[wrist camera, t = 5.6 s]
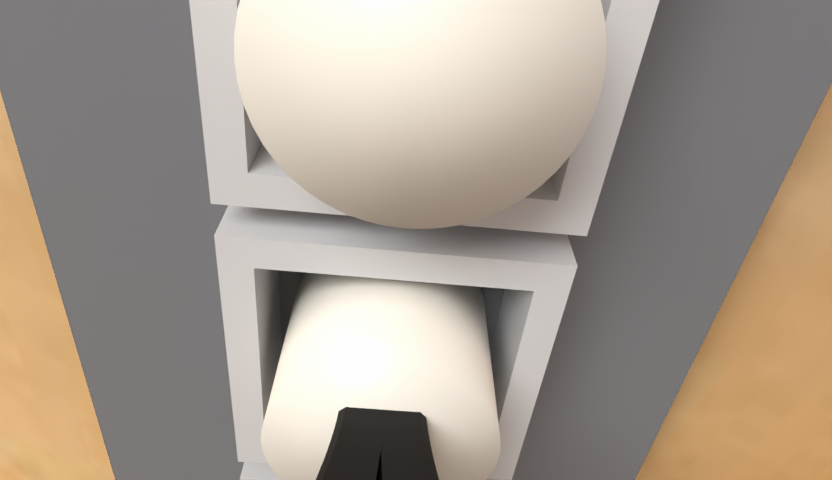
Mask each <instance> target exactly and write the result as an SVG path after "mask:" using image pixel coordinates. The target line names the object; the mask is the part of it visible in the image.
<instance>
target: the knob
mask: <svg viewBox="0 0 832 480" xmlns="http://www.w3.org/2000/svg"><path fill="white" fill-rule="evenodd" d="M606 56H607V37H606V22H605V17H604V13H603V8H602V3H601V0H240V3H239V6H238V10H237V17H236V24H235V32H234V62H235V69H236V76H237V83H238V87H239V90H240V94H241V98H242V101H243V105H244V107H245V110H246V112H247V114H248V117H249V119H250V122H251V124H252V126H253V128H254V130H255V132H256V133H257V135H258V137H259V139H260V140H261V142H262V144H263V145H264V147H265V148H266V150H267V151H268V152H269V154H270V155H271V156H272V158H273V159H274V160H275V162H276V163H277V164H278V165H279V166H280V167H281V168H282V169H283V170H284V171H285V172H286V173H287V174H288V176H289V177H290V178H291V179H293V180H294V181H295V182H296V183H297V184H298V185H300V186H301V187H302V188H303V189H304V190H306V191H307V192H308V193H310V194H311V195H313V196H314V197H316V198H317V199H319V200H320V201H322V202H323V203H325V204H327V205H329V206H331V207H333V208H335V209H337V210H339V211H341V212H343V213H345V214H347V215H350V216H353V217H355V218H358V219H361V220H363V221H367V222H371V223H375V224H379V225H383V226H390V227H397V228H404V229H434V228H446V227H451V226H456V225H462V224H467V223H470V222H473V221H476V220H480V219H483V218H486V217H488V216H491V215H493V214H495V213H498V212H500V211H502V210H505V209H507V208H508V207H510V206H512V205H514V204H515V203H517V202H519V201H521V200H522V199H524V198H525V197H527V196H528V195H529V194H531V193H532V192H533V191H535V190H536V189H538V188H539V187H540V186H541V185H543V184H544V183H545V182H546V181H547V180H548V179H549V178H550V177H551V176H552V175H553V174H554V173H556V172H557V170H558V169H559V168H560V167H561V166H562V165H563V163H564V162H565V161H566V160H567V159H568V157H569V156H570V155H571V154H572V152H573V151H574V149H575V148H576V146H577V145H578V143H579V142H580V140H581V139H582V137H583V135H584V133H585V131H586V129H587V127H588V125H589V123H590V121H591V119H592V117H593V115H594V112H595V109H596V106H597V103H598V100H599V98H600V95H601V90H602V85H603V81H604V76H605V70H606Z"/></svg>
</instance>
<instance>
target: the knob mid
mask: <svg viewBox="0 0 832 480" xmlns="http://www.w3.org/2000/svg"><path fill="white" fill-rule="evenodd" d="M345 407H353V408H367V409H381V410H395V411H410V412H421V413H422V414H423V415H424V416H425V417H426V418H427V427H428V433H429V438H430V444H431V449H432V453H433V458H434V462H435V466H436V470H437V474H438V477H439V480H487V479H488V477H489V476H490V475H491V473H492V472H493V470H494V468H495V467H496V464H497V461H498V459H499V455H500V449H501V443H500V431H499V423H498V414H497V406H496V398H495V389H494V381H493V372H492V364H491V356H490V347H489V339H488V330H487V322H486V314H485V305H484V298H483V293H482V289H481V287H477V286H464V285H452V284H440V283H428V282H416V281H403V280H391V279H379V278H367V277H354V276H342V275H330V274H318V273H306V272H304V274H303V275H302V277H301V280H300V282H299V284H298V288H297V292H296V296H295V300H294V304H293V308H292V312H291V316H290V320H289V324H288V328H287V332H286V335H285V339H284V343H283V347H282V351H281V355H280V359H279V363H278V367H277V371H276V375H275V379H274V383H273V387H272V391H271V394H270V398H269V402H268V406H267V410H266V414H265V418H264V422H263V426H262V430H261V445H262V451H263V453H264V456H265V459H266V461H267V463H268V464H269V466H270V468H271V469H272V471H273V472H274V473H275V474H276V475H277V477H278V478H279V479H280V480H316V478H317V475H318V473H319V470H320V468H321V465H322V463H323V460H324V458H325V455H326V452H327V450H328V447H329V444H330V441H331V438H332V434H333V431H334V428H335V424H336V421H337V416H338V412H339V411H340V410H341V409H343V408H345Z"/></svg>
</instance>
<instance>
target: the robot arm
mask: <svg viewBox="0 0 832 480" xmlns="http://www.w3.org/2000/svg"><path fill="white" fill-rule="evenodd" d="M316 480H439V477H438V474H437V470H436V466H435V462H434V458H433V453H432V449H431V444H430V438H429V433H428V427H427V418H426V417H425V416H424V415H423V414H422V413H421V412H410V411H395V410H381V409H367V408H353V407H345V408H343V409H341V410H340V411H339V412H338V416H337V421H336V424H335V428H334V431H333V434H332V438H331V441H330V444H329V447H328V450H327V452H326V455H325V458H324V460H323V463H322V465H321V468H320V470H319V473H318V475H317V478H316Z"/></svg>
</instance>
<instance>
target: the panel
mask: <svg viewBox="0 0 832 480" xmlns="http://www.w3.org/2000/svg"><path fill="white" fill-rule="evenodd" d="M239 3H240V0H0V91H1V94H2V98H3V101H4V104H5V108H6V111H7V115H8V118H9V121H10V125H11V128H12V131H13V135H14V138H15V142H16V145H17V148H18V152H19V155H20V159H21V162H22V165H23V169H24V172H25V175H26V179H27V182H28V186H29V189H30V192H31V196H32V199H33V202H34V206H35V209H36V213H37V216H38V219H39V223H40V226H41V230H42V233H43V236H44V240H45V243H46V246H47V250H48V253H49V257H50V260H51V263H52V267H53V270H54V273H55V277H56V280H57V284H58V287H59V290H60V294H61V297H62V301H63V304H64V307H65V311H66V314H67V317H68V321H69V324H70V328H71V331H72V334H73V338H74V341H75V345H76V348H77V351H78V355H79V358H80V361H81V365H82V368H83V372H84V375H85V378H86V382H87V385H88V388H89V392H90V395H91V399H92V402H93V405H94V409H95V412H96V416H97V419H98V422H99V426H100V429H101V432H102V436H103V439H104V443H105V446H106V449H107V453H108V456H109V460H110V463H111V466H112V470H113V473H114V476H115V480H280V479H279V478H278V477H277V475H276V474H275V473H274V472H273V471H272V469H271V468H270V466H269V464H268V463H267V461H266V459H265V456H264V453H263V451H262V445H261V430H262V426H263V422H264V418H265V414H266V410H267V406H268V402H269V398H270V394H271V391H272V387H273V383H274V379H275V375H276V371H277V367H278V363H279V359H280V355H281V351H282V347H283V343H284V339H285V335H286V332H287V328H288V324H289V320H290V316H291V312H292V308H293V304H294V300H295V296H296V292H297V288H298V284H299V282H300V280H301V277H302V275H303V274H304V272H306V273H318V274H330V275H342V276H354V277H367V278H379V279H391V280H403V281H416V282H428V283H440V284H452V285H464V286H477V287H481V289H482V293H483V298H484V305H485V314H486V322H487V330H488V339H489V347H490V356H491V364H492V372H493V381H494V389H495V398H496V406H497V414H498V423H499V431H500V443H501V449H500V455H499V459H498V461H497V464H496V467H495V468H494V470H493V472H492V473H491V475H490V476H489V477H488V479H487V480H635V478H636V476H637V474H638V472H639V470H640V468H641V466H642V464H643V462H644V460H645V458H646V456H647V454H648V452H649V450H650V448H651V446H652V444H653V442H654V440H655V438H656V436H657V434H658V432H659V430H660V428H661V426H662V424H663V422H664V420H665V418H666V416H667V414H668V412H669V410H670V408H671V406H672V403H673V401H674V399H675V397H676V395H677V393H678V391H679V389H680V387H681V385H682V383H683V381H684V379H685V377H686V375H687V373H688V371H689V369H690V367H691V365H692V363H693V361H694V359H695V357H696V355H697V353H698V351H699V349H700V347H701V345H702V343H703V341H704V339H705V337H706V335H707V333H708V331H709V329H710V327H711V325H712V323H713V321H714V319H715V317H716V315H717V313H718V311H719V309H720V307H721V305H722V303H723V301H724V299H725V297H726V295H727V293H728V291H729V289H730V287H731V285H732V283H733V281H734V279H735V277H736V274H737V272H738V270H739V268H740V266H741V264H742V262H743V260H744V258H745V256H746V254H747V252H748V250H749V248H750V246H751V244H752V242H753V240H754V238H755V236H756V234H757V232H758V230H759V228H760V226H761V224H762V222H763V220H764V218H765V216H766V214H767V212H768V210H769V208H770V206H771V204H772V202H773V200H774V198H775V196H776V194H777V192H778V190H779V188H780V186H781V184H782V182H783V180H784V178H785V176H786V174H787V172H788V170H789V168H790V166H791V164H792V162H793V160H794V158H795V156H796V154H797V152H798V150H799V148H800V146H801V143H802V141H803V139H804V137H805V135H806V133H807V131H808V129H809V127H810V125H811V123H812V121H813V119H814V117H815V115H816V113H817V111H818V109H819V107H820V105H821V103H822V101H823V99H824V97H825V95H826V93H827V91H828V89H829V87H830V85H831V83H832V0H601V3H602V8H603V13H604V17H605V22H606V37H607V56H606V70H605V76H604V81H603V85H602V90H601V95H600V98H599V100H598V103H597V106H596V109H595V112H594V115H593V117H592V119H591V121H590V123H589V125H588V127H587V129H586V131H585V133H584V135H583V137H582V139H581V140H580V142H579V143H578V145H577V146H576V148H575V149H574V151H573V152H572V154H571V155H570V156H569V157H568V159H567V160H566V161H565V162H564V163H563V165H562V166H561V167H560V168H559V169H558V170H557V172H556V173H554V174H553V175H552V176H551V177H550V178H549V179H548V180H547V181H546V182H545V183H544V184H543V185H541V186H540V187H539V188H538V189H536V190H535V191H533V192H532V193H531V194H529V195H528V196H527V197H525V198H524V199H522V200H521V201H519V202H517V203H515V204H514V205H512V206H510V207H508V208H507V209H505V210H502V211H500V212H498V213H495V214H493V215H491V216H488V217H486V218H483V219H480V220H476V221H473V222H470V223H467V224H462V225H456V226H451V227H446V228H434V229H404V228H397V227H390V226H383V225H379V224H375V223H371V222H367V221H363V220H361V219H358V218H355V217H353V216H350V215H347V214H345V213H343V212H341V211H339V210H337V209H335V208H333V207H331V206H329V205H327V204H325V203H323V202H322V201H320V200H319V199H317V198H316V197H314V196H313V195H311V194H310V193H308V192H307V191H306V190H304V189H303V188H302V187H301V186H300V185H298V184H297V183H296V182H295V181H294V180H293V179H291V178H290V177H289V176H288V174H287V173H286V172H285V171H284V170H283V169H282V168H281V167H280V166H279V165H278V164H277V163H276V162H275V160H274V159H273V158H272V156H271V155H270V154H269V152H268V151H267V150H266V148H265V147H264V145H263V144H262V142H261V140H260V139H259V137H258V135H257V133H256V132H255V130H254V128H253V126H252V124H251V122H250V119H249V117H248V114H247V112H246V110H245V107H244V105H243V101H242V98H241V94H240V90H239V87H238V83H237V76H236V69H235V62H234V32H235V24H236V17H237V10H238V6H239Z"/></svg>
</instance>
